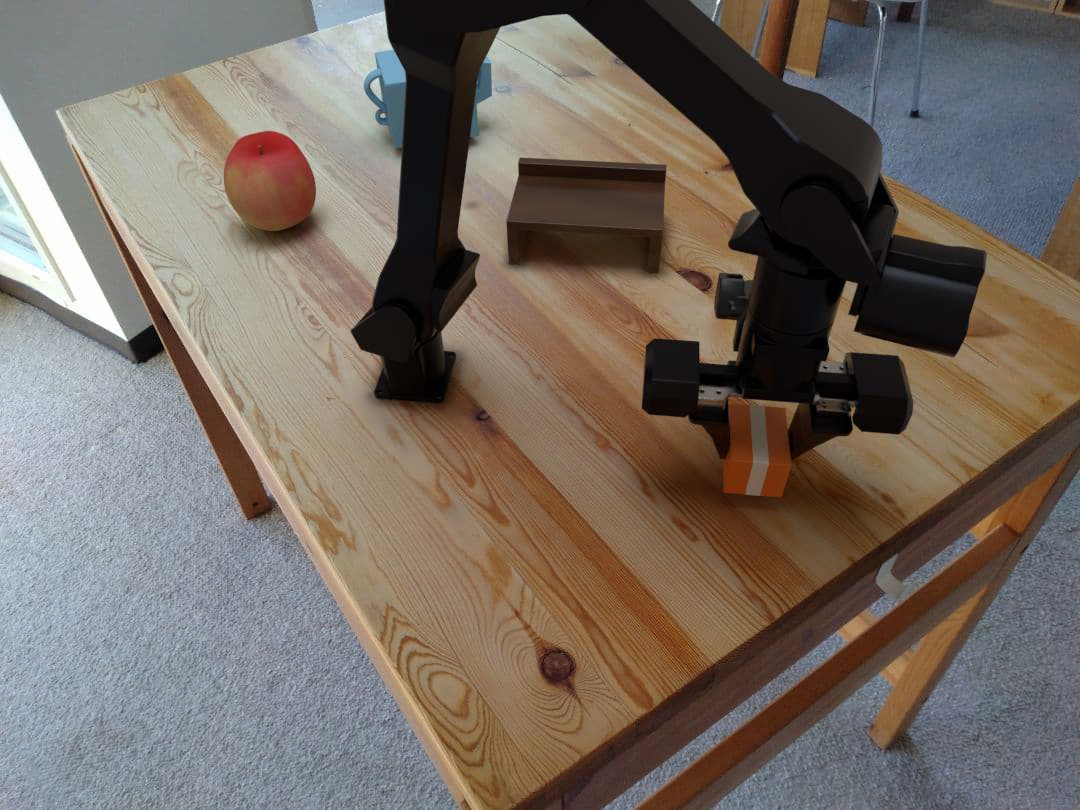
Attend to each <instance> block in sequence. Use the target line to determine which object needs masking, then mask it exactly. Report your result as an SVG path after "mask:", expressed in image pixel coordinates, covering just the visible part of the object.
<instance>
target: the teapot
mask: <svg viewBox="0 0 1080 810" xmlns="http://www.w3.org/2000/svg"><path fill="white" fill-rule="evenodd" d="M374 58H375V64H376V69H373V70H371V71H370V72H369V73H368V74H366V77H365V79H364V82H363V90H364V92H365V95H366V96H367V97H368V99H369V100H370V101H371V102H372V103H373V104H374V105H375V106H376V107H377V108H378V109H377V110H376V111H375V115H374V117H375V121H376V122H377V124H379V125H380V126H387V127H388V129H389V130H388V131H389V134H390V136H391V139H392V144H393V146H394V149H402V135H403V118H404V101H405V84H406V77H405V70H404V68H403V66H402V65H401V63H400V61H399V59H398V57H397V55H396V53H395V51H394V50H393V49H390V50H381V51H375V52H374ZM377 79H378V82H379V88H380V94H381V99H380V98H379V97H378V96H377V95H376V94H375V92H374V91H373V89H372V88H371V84H372V83H373V82H374V81H375V80H377ZM492 83H493V81H492V62H491V59H489V57H488V56H486V58H485V60H484V62H483V64H482V66H481V69H480V71H479V74H478V79H477V87H476V95H475V102H474V110H473V118H472V125H471V133H470V138H473V137H478V136H480V131H479V129H480V128H479V119H478V118H479V117H478V116H479V115H478V105H479V104H480V103H482V102H484V101H486V100H487V99H489V98H491V97H492V96H493V87H492V86H493V84H492ZM382 114H384V117H381V115H382Z"/></svg>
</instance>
